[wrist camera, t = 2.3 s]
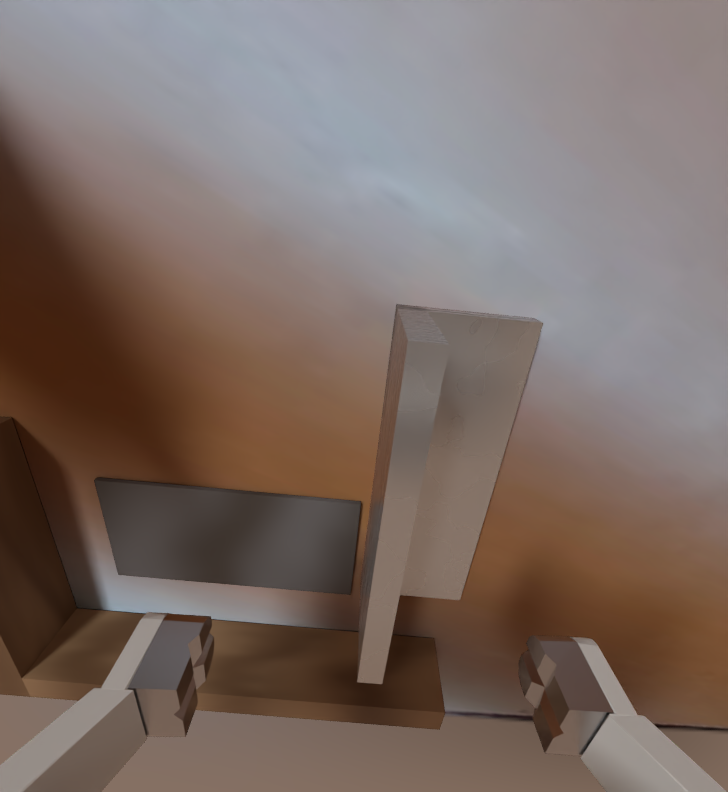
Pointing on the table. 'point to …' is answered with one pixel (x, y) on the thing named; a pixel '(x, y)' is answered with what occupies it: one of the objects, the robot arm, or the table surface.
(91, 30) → the table surface
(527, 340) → the angle bracket
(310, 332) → the table surface
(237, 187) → the table surface
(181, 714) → the robot arm
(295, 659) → the brown wooden l-shaped piece
